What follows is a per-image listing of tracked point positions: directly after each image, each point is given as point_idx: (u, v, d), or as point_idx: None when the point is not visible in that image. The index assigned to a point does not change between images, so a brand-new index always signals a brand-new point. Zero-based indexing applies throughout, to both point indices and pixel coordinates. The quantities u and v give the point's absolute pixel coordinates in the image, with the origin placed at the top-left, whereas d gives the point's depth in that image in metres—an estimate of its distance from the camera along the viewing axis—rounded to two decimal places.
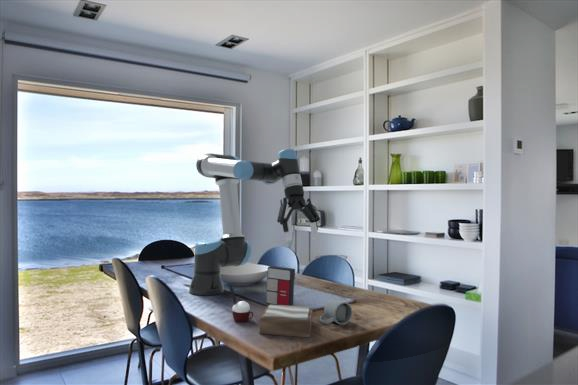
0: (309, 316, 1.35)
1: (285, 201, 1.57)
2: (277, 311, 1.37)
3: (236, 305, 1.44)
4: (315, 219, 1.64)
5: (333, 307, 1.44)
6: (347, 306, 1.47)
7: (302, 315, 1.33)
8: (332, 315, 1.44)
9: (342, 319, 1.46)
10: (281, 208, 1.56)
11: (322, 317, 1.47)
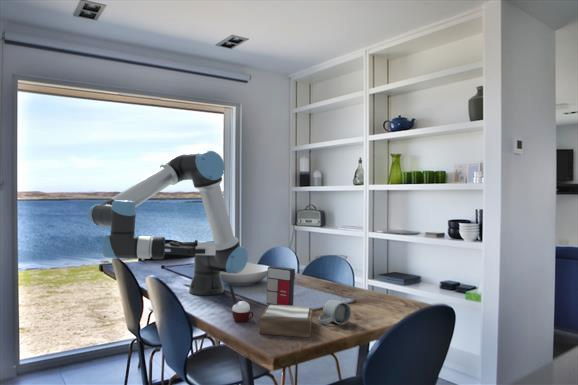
0: (309, 316, 1.35)
1: None
2: (277, 311, 1.37)
3: (236, 305, 1.44)
4: None
5: (332, 307, 1.44)
6: (346, 306, 1.47)
7: (302, 315, 1.33)
8: (331, 315, 1.43)
9: (341, 319, 1.45)
10: None
11: (321, 317, 1.47)
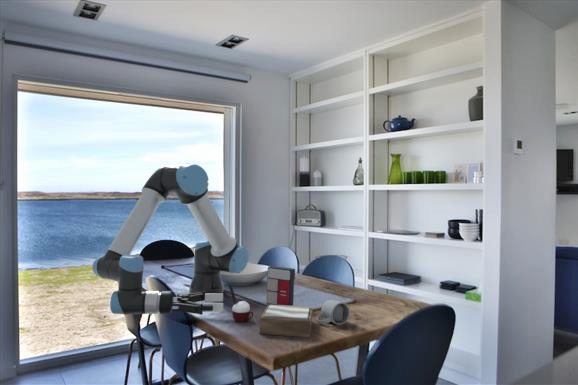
0: (309, 316, 1.35)
1: None
2: (277, 311, 1.37)
3: (236, 305, 1.44)
4: None
5: (330, 307, 1.44)
6: (344, 306, 1.47)
7: (302, 315, 1.33)
8: (329, 315, 1.43)
9: (339, 319, 1.45)
10: None
11: (319, 317, 1.47)
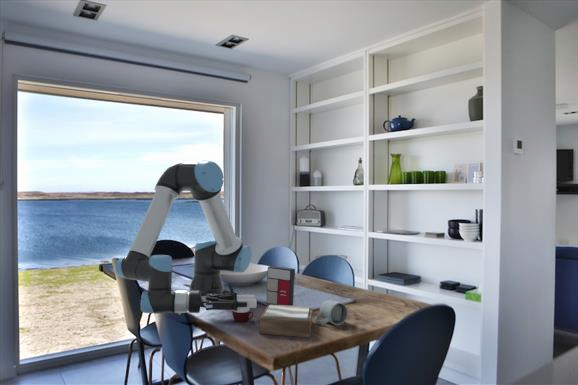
0: (309, 316, 1.35)
1: None
2: (277, 311, 1.37)
3: None
4: None
5: (328, 308, 1.44)
6: (343, 306, 1.46)
7: (302, 315, 1.33)
8: (327, 315, 1.43)
9: (338, 320, 1.45)
10: None
11: (318, 317, 1.47)
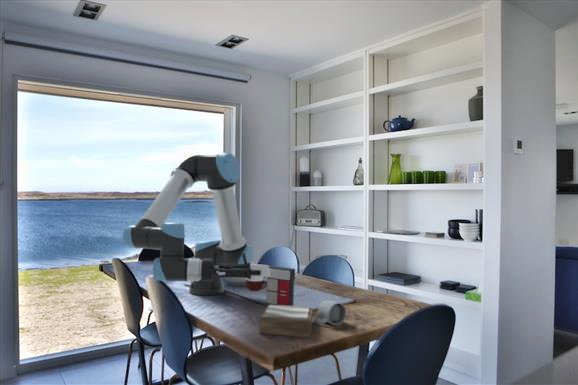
0: (309, 316, 1.35)
1: None
2: (277, 311, 1.37)
3: None
4: None
5: (326, 308, 1.43)
6: (341, 307, 1.46)
7: (302, 315, 1.33)
8: (326, 316, 1.42)
9: (336, 320, 1.45)
10: None
11: (316, 318, 1.46)
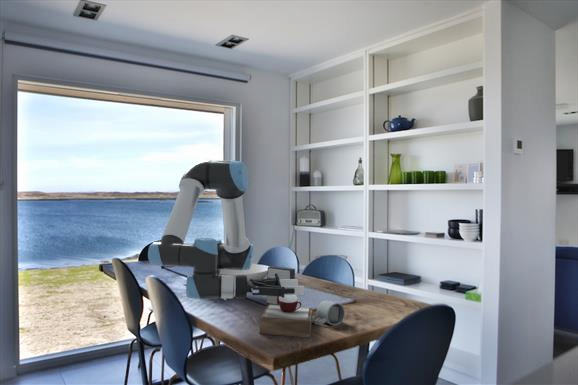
0: (309, 316, 1.35)
1: None
2: (277, 311, 1.37)
3: None
4: None
5: (325, 308, 1.43)
6: (340, 307, 1.46)
7: (302, 315, 1.33)
8: (325, 316, 1.42)
9: (335, 320, 1.44)
10: None
11: (315, 318, 1.46)
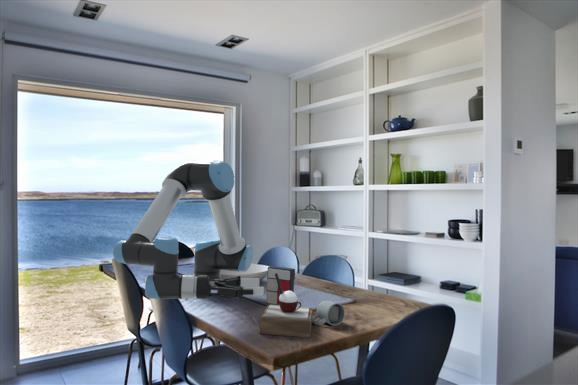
0: (309, 316, 1.35)
1: None
2: (277, 311, 1.37)
3: (283, 295, 1.37)
4: None
5: (325, 308, 1.43)
6: (340, 307, 1.46)
7: (302, 315, 1.33)
8: (325, 316, 1.42)
9: (335, 320, 1.44)
10: None
11: (314, 318, 1.46)
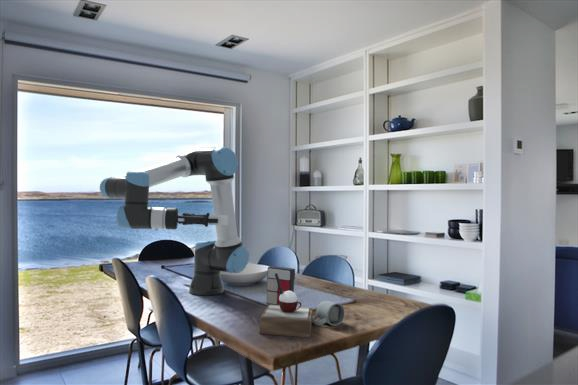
0: (309, 316, 1.35)
1: None
2: (277, 311, 1.37)
3: (283, 295, 1.37)
4: None
5: (325, 308, 1.43)
6: (340, 307, 1.46)
7: (302, 315, 1.33)
8: (325, 316, 1.42)
9: (335, 320, 1.44)
10: None
11: (314, 318, 1.45)
